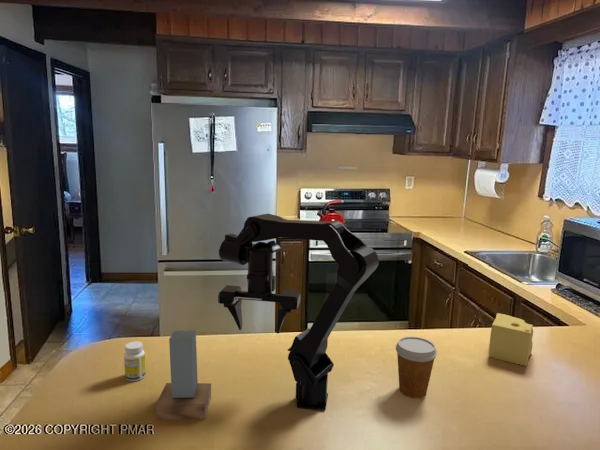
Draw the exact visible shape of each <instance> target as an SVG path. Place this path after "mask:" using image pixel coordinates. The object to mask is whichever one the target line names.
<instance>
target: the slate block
mask: <svg viewBox="0 0 600 450" xmlns="http://www.w3.org/2000/svg"><path fill="white" fill-rule="evenodd" d="M168 341H169V342H168V343H169V345H168V346H169V363H170V364H169V365H170V367H169V368H170V383H171V391H172V398H191V397H194V395H195V393H196V390H197V387H198V383H199V382H198V358H197V357H198V356H197V355H198V354H197V353H198V352H197V331H196V330H174V331H173V332H172V334H171V336H170V337H169V339H168Z"/></svg>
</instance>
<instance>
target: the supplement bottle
mask: <svg viewBox="0 0 600 450" xmlns="http://www.w3.org/2000/svg"><path fill="white" fill-rule="evenodd" d="M124 349H125V350H124V351H125V352H124V355H123V358H124V359H123V360H124V377H125V380H126V381H129V382H137V381H141V380H142V379H143V380H144V378H145V377H146V373H147V372H146V369H147V368H146V352H145V350H144V345H143V342H141V341H139V340H138V341H130V342H128V343H126V344H125V346H124Z"/></svg>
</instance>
